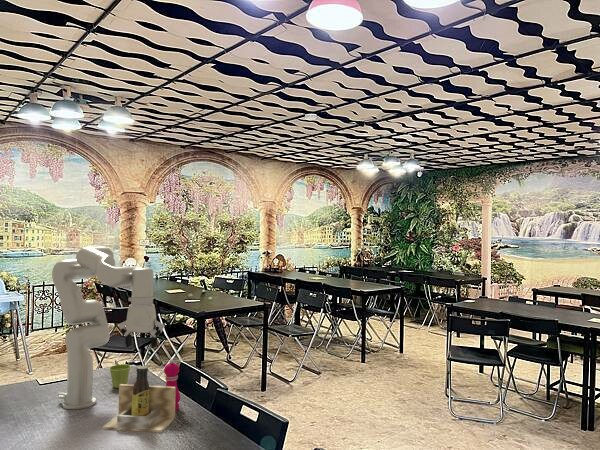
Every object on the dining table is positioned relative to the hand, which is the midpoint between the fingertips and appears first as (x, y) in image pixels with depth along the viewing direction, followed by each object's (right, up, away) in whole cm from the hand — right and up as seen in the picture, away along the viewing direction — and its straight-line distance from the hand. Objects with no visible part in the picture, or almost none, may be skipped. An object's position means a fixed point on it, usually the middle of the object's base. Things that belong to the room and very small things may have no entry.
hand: (141, 346), depth 174 cm
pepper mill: (+7, -29, +13) cm, 33 cm away
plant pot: (-24, -29, +41) cm, 56 cm away
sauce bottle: (0, -28, -1) cm, 28 cm away
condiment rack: (0, -28, -1) cm, 28 cm away
